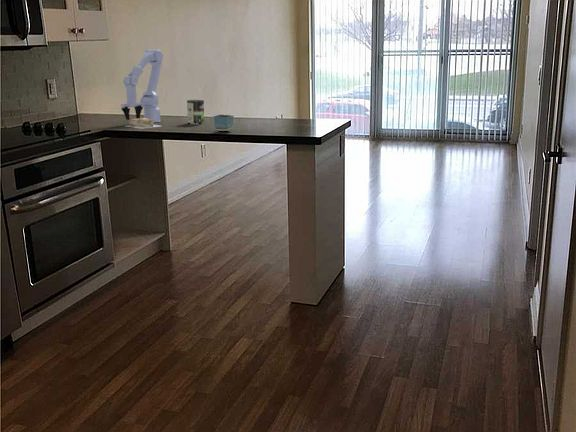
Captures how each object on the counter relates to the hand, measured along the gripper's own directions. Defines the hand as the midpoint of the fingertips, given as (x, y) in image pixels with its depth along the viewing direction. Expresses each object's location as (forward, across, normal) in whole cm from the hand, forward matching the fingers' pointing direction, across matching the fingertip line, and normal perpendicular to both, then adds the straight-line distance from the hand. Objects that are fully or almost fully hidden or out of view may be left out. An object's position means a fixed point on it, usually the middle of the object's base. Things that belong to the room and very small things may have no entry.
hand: (132, 119), depth 362 cm
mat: (+3, 0, +10) cm, 11 cm away
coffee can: (+4, -30, +23) cm, 38 cm away
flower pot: (+3, -16, +60) cm, 62 cm away
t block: (+3, 0, +11) cm, 11 cm away
